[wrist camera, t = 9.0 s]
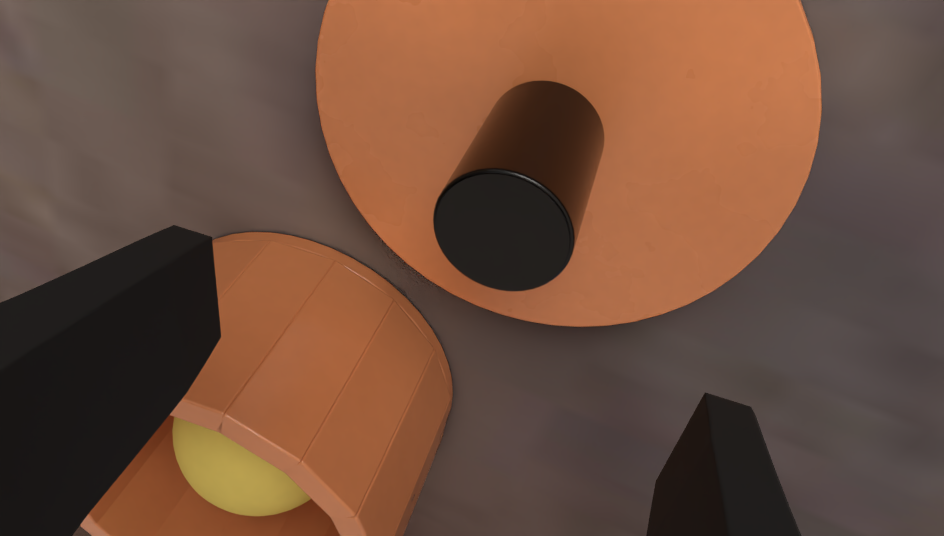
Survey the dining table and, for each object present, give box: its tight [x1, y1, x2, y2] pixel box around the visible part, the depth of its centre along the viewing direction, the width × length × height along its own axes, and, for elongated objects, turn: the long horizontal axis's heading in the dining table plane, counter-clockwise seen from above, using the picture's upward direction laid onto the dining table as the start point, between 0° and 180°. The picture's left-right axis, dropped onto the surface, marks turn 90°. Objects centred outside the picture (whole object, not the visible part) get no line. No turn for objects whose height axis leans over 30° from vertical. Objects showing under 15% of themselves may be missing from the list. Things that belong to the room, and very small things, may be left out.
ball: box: [172, 417, 311, 516], centre depth 22 cm, size 5×5×5 cm
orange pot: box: [80, 232, 453, 536], centre depth 22 cm, size 10×10×6 cm
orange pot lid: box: [315, 0, 822, 327], centre depth 15 cm, size 11×11×5 cm
